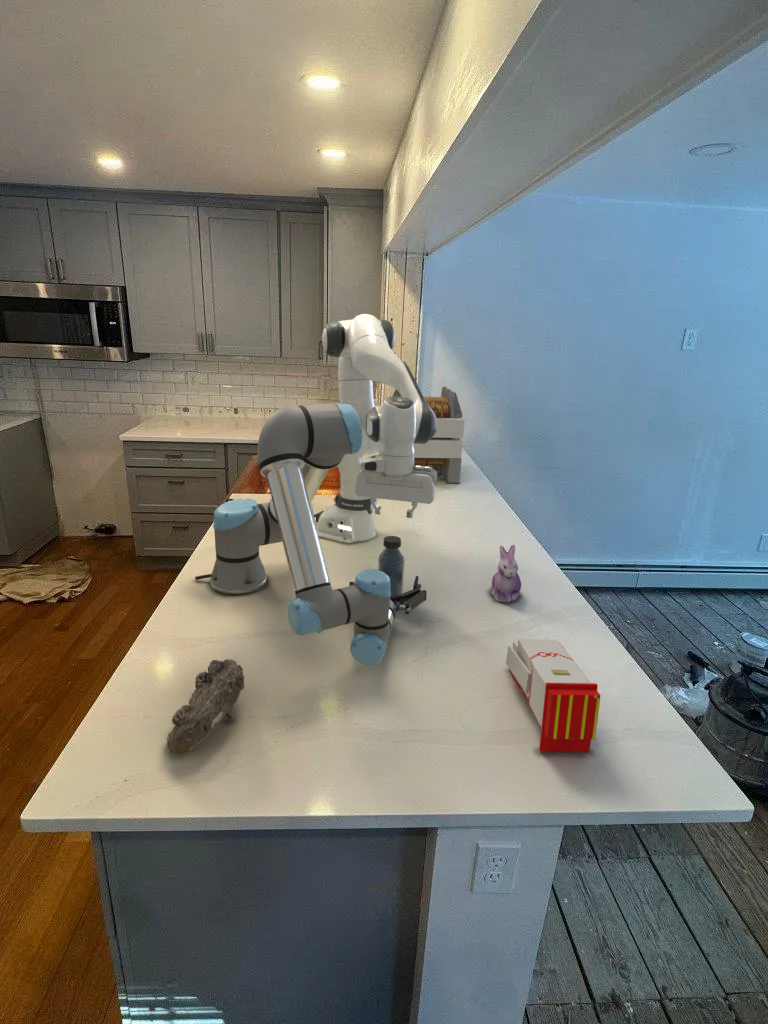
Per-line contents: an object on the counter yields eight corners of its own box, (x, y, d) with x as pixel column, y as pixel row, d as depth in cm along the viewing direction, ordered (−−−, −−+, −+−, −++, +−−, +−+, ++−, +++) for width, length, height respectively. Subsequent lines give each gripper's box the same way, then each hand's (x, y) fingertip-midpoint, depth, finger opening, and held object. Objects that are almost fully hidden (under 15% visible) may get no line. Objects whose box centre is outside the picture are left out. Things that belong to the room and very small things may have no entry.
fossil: (192, 660, 117) (244, 628, 112) (224, 691, 120) (276, 661, 115) (142, 746, 98) (202, 712, 93) (182, 779, 101) (242, 748, 96)
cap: (400, 549, 147) (401, 542, 146) (383, 548, 147) (383, 541, 146) (400, 542, 151) (401, 536, 151) (383, 541, 151) (383, 535, 151)
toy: (554, 622, 128) (610, 691, 98) (548, 677, 130) (601, 759, 101) (501, 621, 127) (541, 690, 98) (496, 676, 130) (534, 758, 101)
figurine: (503, 606, 153) (510, 556, 148) (480, 590, 162) (486, 542, 156) (530, 600, 157) (537, 550, 152) (507, 584, 166) (513, 537, 161)
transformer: (382, 463, 289) (386, 382, 275) (445, 464, 293) (451, 384, 279) (390, 482, 257) (394, 392, 243) (460, 483, 261) (468, 394, 247)
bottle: (402, 606, 151) (405, 546, 145) (375, 605, 151) (378, 545, 145) (402, 594, 158) (405, 535, 152) (376, 592, 158) (379, 534, 152)
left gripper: (327, 624, 137) (346, 584, 156) (430, 637, 133) (436, 595, 153) (327, 596, 134) (347, 560, 154) (432, 609, 131) (439, 570, 150)
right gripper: (439, 464, 143) (435, 515, 147) (360, 457, 146) (358, 507, 151) (436, 470, 137) (432, 524, 142) (354, 463, 140) (352, 515, 145)
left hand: (392, 577), depth 154 cm, fingers open, 13 cm apart
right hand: (393, 515), depth 146 cm, fingers open, 7 cm apart
